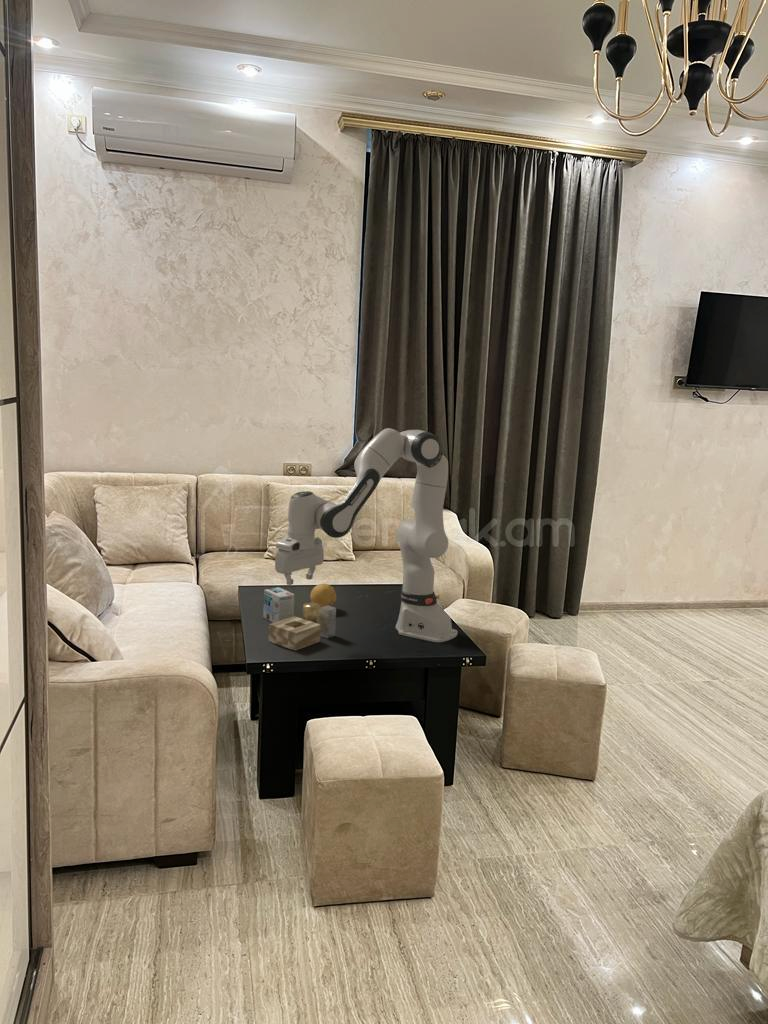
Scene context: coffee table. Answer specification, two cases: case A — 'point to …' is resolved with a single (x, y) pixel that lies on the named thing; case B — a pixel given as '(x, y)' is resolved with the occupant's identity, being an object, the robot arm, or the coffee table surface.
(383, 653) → the coffee table surface
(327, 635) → the square bit
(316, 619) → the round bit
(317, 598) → the stress ball
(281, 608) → the light bulb box
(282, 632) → the socket block
